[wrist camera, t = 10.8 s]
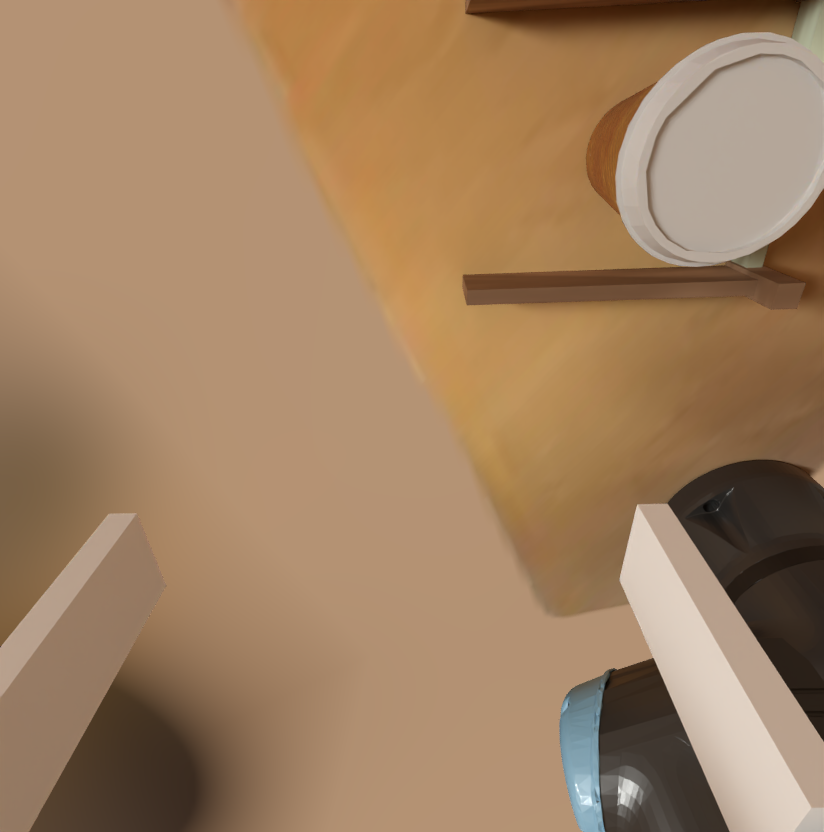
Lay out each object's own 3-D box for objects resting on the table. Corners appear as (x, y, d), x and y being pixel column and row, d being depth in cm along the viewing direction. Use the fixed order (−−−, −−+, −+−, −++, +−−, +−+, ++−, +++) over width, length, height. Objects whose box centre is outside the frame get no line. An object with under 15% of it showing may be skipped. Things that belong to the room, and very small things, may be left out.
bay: (743, 282, 36) (797, 308, 31) (462, 292, 37) (469, 319, 32) (835, -37, 28) (931, -75, 22) (465, -16, 28) (475, -49, 23)
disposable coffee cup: (711, 37, 29) (871, -15, 19) (713, 204, 34) (844, 238, 23) (549, 94, 31) (614, 77, 20) (572, 247, 35) (635, 297, 25)
